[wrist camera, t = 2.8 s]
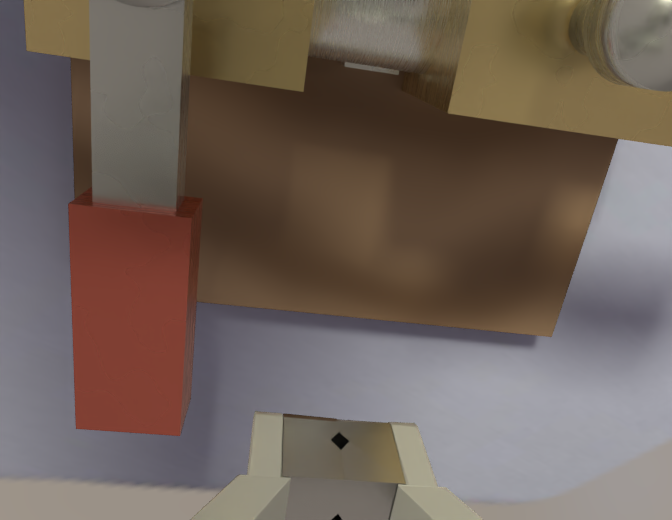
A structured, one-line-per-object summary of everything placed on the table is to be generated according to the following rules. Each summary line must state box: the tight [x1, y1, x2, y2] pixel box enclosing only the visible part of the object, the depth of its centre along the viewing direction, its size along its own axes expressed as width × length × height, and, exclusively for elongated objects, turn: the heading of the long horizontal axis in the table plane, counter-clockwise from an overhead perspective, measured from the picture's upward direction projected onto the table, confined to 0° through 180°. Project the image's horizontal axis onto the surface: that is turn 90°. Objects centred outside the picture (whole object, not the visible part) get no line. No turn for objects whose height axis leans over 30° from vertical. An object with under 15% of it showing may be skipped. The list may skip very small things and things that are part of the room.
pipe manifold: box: [24, 0, 672, 147], centre depth 16 cm, size 6×28×10 cm, turn 82°
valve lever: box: [68, 0, 203, 436], centre depth 12 cm, size 13×3×2 cm, turn 172°
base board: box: [71, 56, 618, 337], centre depth 22 cm, size 20×22×2 cm
